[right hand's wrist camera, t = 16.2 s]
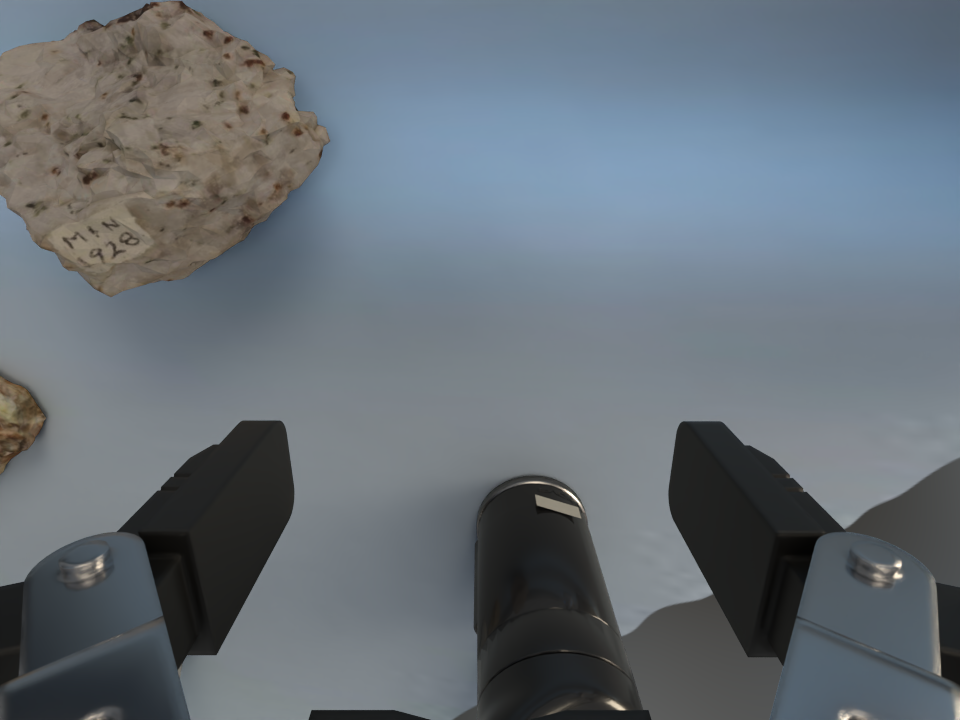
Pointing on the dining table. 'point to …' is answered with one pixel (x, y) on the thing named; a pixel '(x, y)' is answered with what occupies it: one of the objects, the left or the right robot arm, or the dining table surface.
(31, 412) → the stone
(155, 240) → the rock
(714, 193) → the dining table surface
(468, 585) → the dining table surface
